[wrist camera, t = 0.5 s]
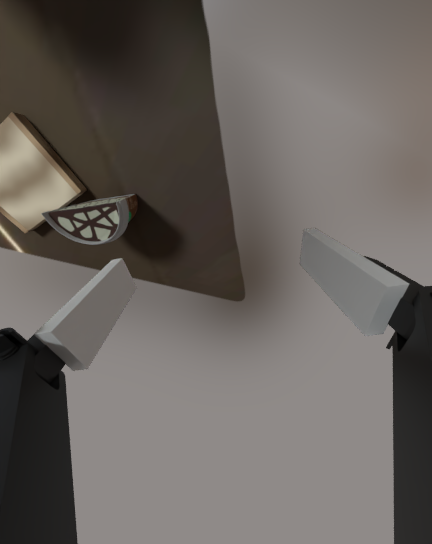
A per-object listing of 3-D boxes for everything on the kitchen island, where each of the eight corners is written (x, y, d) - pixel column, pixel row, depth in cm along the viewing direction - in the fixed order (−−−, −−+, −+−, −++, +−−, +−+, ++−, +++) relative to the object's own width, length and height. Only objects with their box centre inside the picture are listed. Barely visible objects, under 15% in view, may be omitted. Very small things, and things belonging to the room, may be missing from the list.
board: (-33, 171, 30) (-47, 172, 29) (23, 115, 27) (12, 112, 25) (33, 230, 36) (25, 233, 34) (87, 190, 32) (81, 191, 31)
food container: (97, 232, 37) (62, 252, 28) (81, 201, 33) (37, 213, 25) (153, 224, 36) (136, 242, 27) (143, 192, 33) (119, 201, 24)
